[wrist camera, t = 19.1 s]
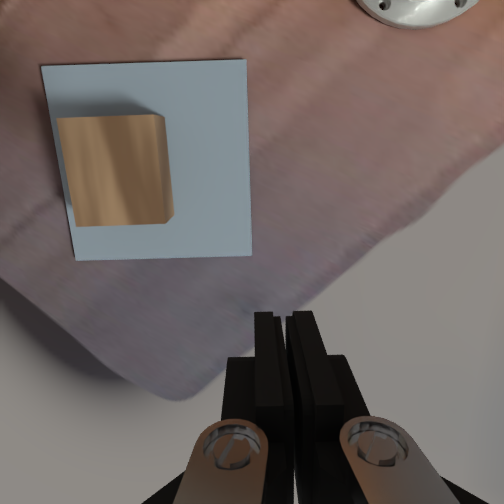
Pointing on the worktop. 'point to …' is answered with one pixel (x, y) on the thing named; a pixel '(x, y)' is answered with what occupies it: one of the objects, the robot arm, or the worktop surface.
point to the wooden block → (117, 169)
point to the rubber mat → (169, 152)
